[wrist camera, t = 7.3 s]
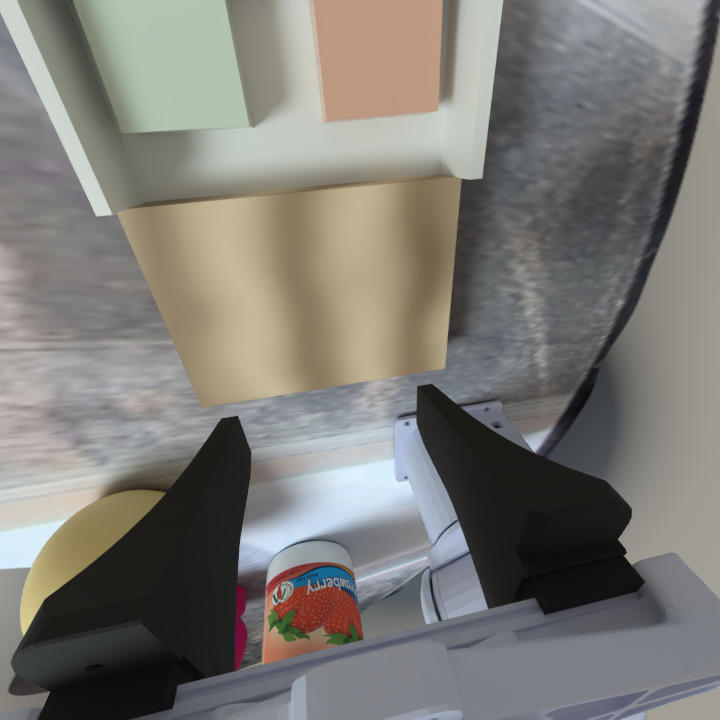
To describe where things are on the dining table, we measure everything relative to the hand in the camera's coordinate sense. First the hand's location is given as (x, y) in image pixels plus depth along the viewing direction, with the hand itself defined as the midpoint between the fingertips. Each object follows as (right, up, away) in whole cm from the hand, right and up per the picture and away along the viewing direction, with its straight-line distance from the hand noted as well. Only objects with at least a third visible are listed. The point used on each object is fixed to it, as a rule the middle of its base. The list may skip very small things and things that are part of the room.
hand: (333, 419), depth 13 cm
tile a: (+2, +15, 0) cm, 15 cm away
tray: (-2, +15, +2) cm, 15 cm away
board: (-2, +7, +7) cm, 10 cm away
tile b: (-6, +14, -1) cm, 15 cm away
